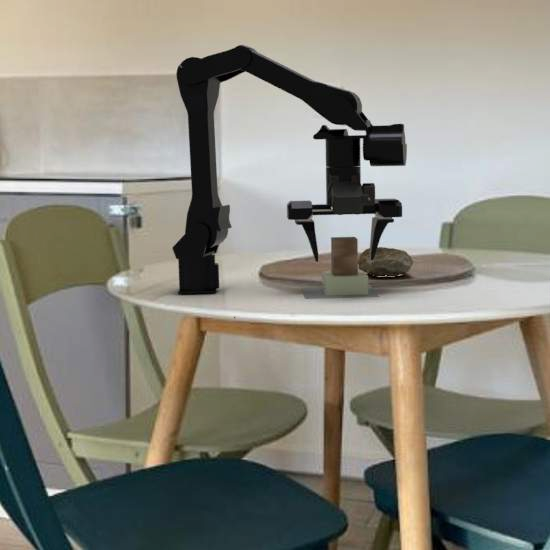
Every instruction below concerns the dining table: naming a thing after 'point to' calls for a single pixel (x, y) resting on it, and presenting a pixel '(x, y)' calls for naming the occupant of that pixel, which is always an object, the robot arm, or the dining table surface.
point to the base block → (345, 284)
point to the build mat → (319, 293)
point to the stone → (385, 262)
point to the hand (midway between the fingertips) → (344, 260)
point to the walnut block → (344, 256)
